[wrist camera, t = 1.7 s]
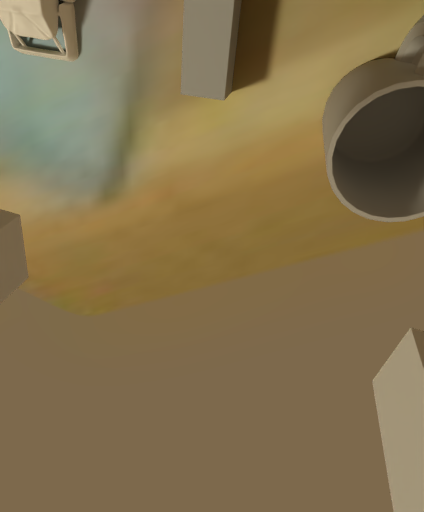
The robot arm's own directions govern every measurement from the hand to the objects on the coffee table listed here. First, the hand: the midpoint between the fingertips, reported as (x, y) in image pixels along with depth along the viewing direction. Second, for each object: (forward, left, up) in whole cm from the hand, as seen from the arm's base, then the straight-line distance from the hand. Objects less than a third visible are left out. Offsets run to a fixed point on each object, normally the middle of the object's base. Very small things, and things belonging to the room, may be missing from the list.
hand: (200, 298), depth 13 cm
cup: (-4, +8, -20) cm, 21 cm away
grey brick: (-5, -4, -20) cm, 21 cm away
